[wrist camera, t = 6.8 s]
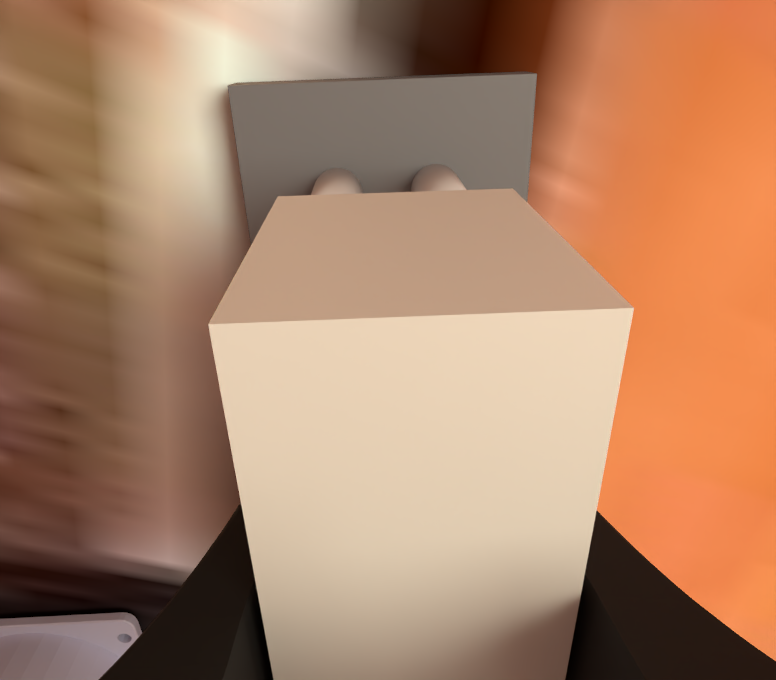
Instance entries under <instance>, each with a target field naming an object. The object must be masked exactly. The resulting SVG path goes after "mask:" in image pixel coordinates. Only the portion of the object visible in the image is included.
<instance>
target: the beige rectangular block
mask: <svg viewBox="0 0 776 680" xmlns="http://www.w3.org/2000/svg"><path fill="white" fill-rule="evenodd" d="M633 310H634V308H633V307H632V306H631V305H630V304H629V303H628V302H627V301H626V300H625V299H624V298H623V297H622V296H621V295H620V294H619V293H618V292H617V291H616V290H615V289H614V288H613V287H612V286H611V285H610V284H609V283H608V282H607V281H606V280H605V279H604V278H603V277H602V276H601V275H600V274H599V273H598V272H597V271H596V270H595V269H594V268H593V267H592V266H591V265H590V264H589V263H588V262H587V261H586V260H585V259H584V258H583V257H582V256H581V255H580V254H579V253H578V252H577V251H576V250H575V249H574V248H573V247H572V246H571V245H570V244H569V243H568V242H567V241H566V240H565V239H564V238H563V237H562V236H561V235H560V234H559V233H558V232H556V231H555V230H554V229H553V228H552V227H551V226H550V225H549V224H548V223H547V222H546V221H545V220H544V219H543V218H542V217H541V216H540V215H539V214H538V213H537V212H536V211H535V210H534V209H533V208H532V207H531V206H530V205H529V204H528V203H527V202H526V201H525V200H524V199H523V198H522V197H521V196H520V195H519V194H518V193H517V192H516V191H515V190H514V189H513V188H511V189H481V190H451V191H421V192H391V193H361V194H331V195H302V196H278V197H277V199H276V201H275V202H274V204H273V206H272V208H271V210H270V212H269V213H268V215H267V217H266V219H265V221H264V223H263V224H262V226H261V228H260V230H259V232H258V234H257V235H256V237H255V239H254V241H253V243H252V245H251V246H250V248H249V250H248V252H247V254H246V256H245V257H244V259H243V261H242V263H241V265H240V267H239V268H238V270H237V272H236V274H235V276H234V278H233V279H232V281H231V283H230V285H229V287H228V289H227V290H226V292H225V294H224V296H223V298H222V300H221V302H220V303H219V305H218V307H217V309H216V311H215V313H214V314H213V316H212V318H211V320H210V322H209V324H208V327H209V332H210V338H211V343H212V348H213V354H214V359H215V365H216V370H217V376H218V381H219V386H220V392H221V397H222V403H223V408H224V414H225V419H226V424H227V430H228V435H229V441H230V446H231V452H232V457H233V463H234V468H235V473H236V479H237V484H238V490H239V495H240V501H241V506H242V511H243V517H244V522H245V528H246V533H247V539H248V544H249V549H250V555H251V560H252V566H253V571H254V577H255V582H256V587H257V593H258V598H259V604H260V609H261V615H262V620H263V626H264V631H265V636H266V642H267V647H268V653H269V658H270V664H271V669H272V674H273V680H565V678H566V673H567V667H568V662H569V657H570V651H571V646H572V640H573V635H574V630H575V624H576V619H577V613H578V608H579V602H580V597H581V592H582V586H583V581H584V575H585V570H586V565H587V559H588V554H589V548H590V543H591V538H592V532H593V527H594V521H595V516H596V511H597V505H598V500H599V494H600V489H601V483H602V478H603V473H604V467H605V462H606V456H607V451H608V446H609V440H610V435H611V429H612V424H613V419H614V413H615V408H616V402H617V397H618V392H619V386H620V381H621V375H622V370H623V365H624V359H625V354H626V348H627V343H628V337H629V332H630V327H631V321H632V316H633Z"/></svg>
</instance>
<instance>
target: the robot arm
mask: <svg viewBox="0 0 776 680" xmlns="http://www.w3.org/2000/svg"><path fill="white" fill-rule="evenodd" d="M0 680H273V674H272V669H271V664H270V658H269V653H268V647H267V642H266V636H265V631H264V626H263V620H262V615H261V609H260V604H259V598H258V593H257V587H256V582H255V577H254V571H253V566H252V560H251V555H250V549H249V544H248V539H247V533H246V528H245V522H244V517H243V511H242V506H241V503H240V504H239V506H238V508H237V509H236V511H235V512H234V514H233V515H232V517H231V518H230V520H229V521H228V523H227V524H226V526H225V527H224V529H223V530H222V532H221V533H220V534H219V536H218V537H217V539H216V540H215V542H214V543H213V544H212V546H211V547H210V549H209V550H208V551H207V553H206V554H205V556H204V557H203V558H202V560H201V561H200V563H199V564H198V565H197V567H196V568H195V569H194V571H193V572H192V573H191V574H190V576H189V577H188V578H187V579H186V581H185V582H184V583H183V584H182V586H181V587H180V588H179V590H178V591H177V592H176V593H175V595H174V596H173V597H172V598H171V600H170V601H169V602H168V603H167V605H166V606H165V607H164V608H163V610H162V611H161V612H160V613H159V614H158V615H157V617H156V618H155V619H154V620H153V621H152V623H151V624H150V625H149V626H148V627H147V628H146V629H145V631H144V632H143V633H142V631H141V628H140V625H139V622H138V620H137V619H136V617H135V616H134V615H132V614H130V613H126V612H118V613H99V614H81V615H62V616H44V617H25V618H7V619H0ZM565 680H776V661H774V660H773V659H771V658H770V657H768V656H767V655H766V654H764V653H763V652H761V651H760V650H758V649H757V648H756V647H754V646H753V645H751V644H750V643H749V642H747V641H746V640H745V639H743V638H742V637H740V636H739V635H738V634H736V633H735V632H734V631H732V630H731V629H730V628H729V627H727V626H726V625H725V624H723V623H722V622H721V621H720V620H718V619H717V618H716V617H714V616H713V615H712V614H711V613H709V612H708V611H707V610H705V609H704V608H703V607H702V606H700V605H699V604H698V603H696V602H695V601H694V600H693V599H692V598H690V597H689V596H688V595H687V594H685V593H684V592H683V591H682V590H681V589H680V588H678V587H677V586H676V585H675V584H674V583H673V582H671V581H670V580H669V579H668V578H667V577H666V576H665V575H664V574H663V573H661V572H660V571H659V570H658V569H657V568H656V567H655V566H654V565H652V564H651V563H650V562H649V561H648V560H647V559H646V558H645V557H644V556H643V555H642V554H641V553H639V552H638V551H637V550H636V549H635V548H634V547H633V546H632V545H631V544H630V543H629V542H628V541H627V540H626V539H625V538H624V537H623V536H622V535H621V534H620V533H619V532H618V531H617V530H616V529H615V528H614V527H613V526H612V525H611V524H610V523H609V522H608V521H607V520H606V519H605V518H604V517H603V516H602V515H601V514H600V513H599V512H598V511H596V516H595V521H594V527H593V532H592V538H591V543H590V548H589V554H588V559H587V565H586V570H585V575H584V581H583V586H582V592H581V597H580V602H579V608H578V613H577V619H576V624H575V630H574V635H573V640H572V646H571V651H570V657H569V662H568V667H567V673H566V678H565Z"/></svg>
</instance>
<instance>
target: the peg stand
mask: <svg viewBox="0 0 776 680" xmlns="http://www.w3.org/2000/svg"><path fill="white" fill-rule="evenodd" d="M536 79H537V74H536V73H531V72H503V73H477V74H451V75H426V76H400V77H374V78H349V79H323V80H298V81H272V82H246V83H234V84H231V85H228V92H229V99H230V105H231V112H232V119H233V126H234V133H235V140H236V146H237V153H238V160H239V167H240V174H241V180H242V187H243V194H244V201H245V208H246V214H247V221H248V228H249V235H250V242H251V245H252V243H253V241H254V239H255V237H256V235H257V234H258V232H259V230H260V228H261V226H262V224H263V223H264V221H265V219H266V217H267V215H268V213H269V212H270V210H271V208H272V206H273V204H274V202H275V201H276V199H277V197H278V196H302V195H331V194H361V193H391V192H421V191H451V190H481V189H511V188H513V189H514V190H515V191H516V192H517V193H518V194H519V195H520V196H521V197H522V198H523V199H524V200H525V201H526V202H527V197H528V184H529V171H530V158H531V145H532V131H533V118H534V105H535V92H536Z"/></svg>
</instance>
